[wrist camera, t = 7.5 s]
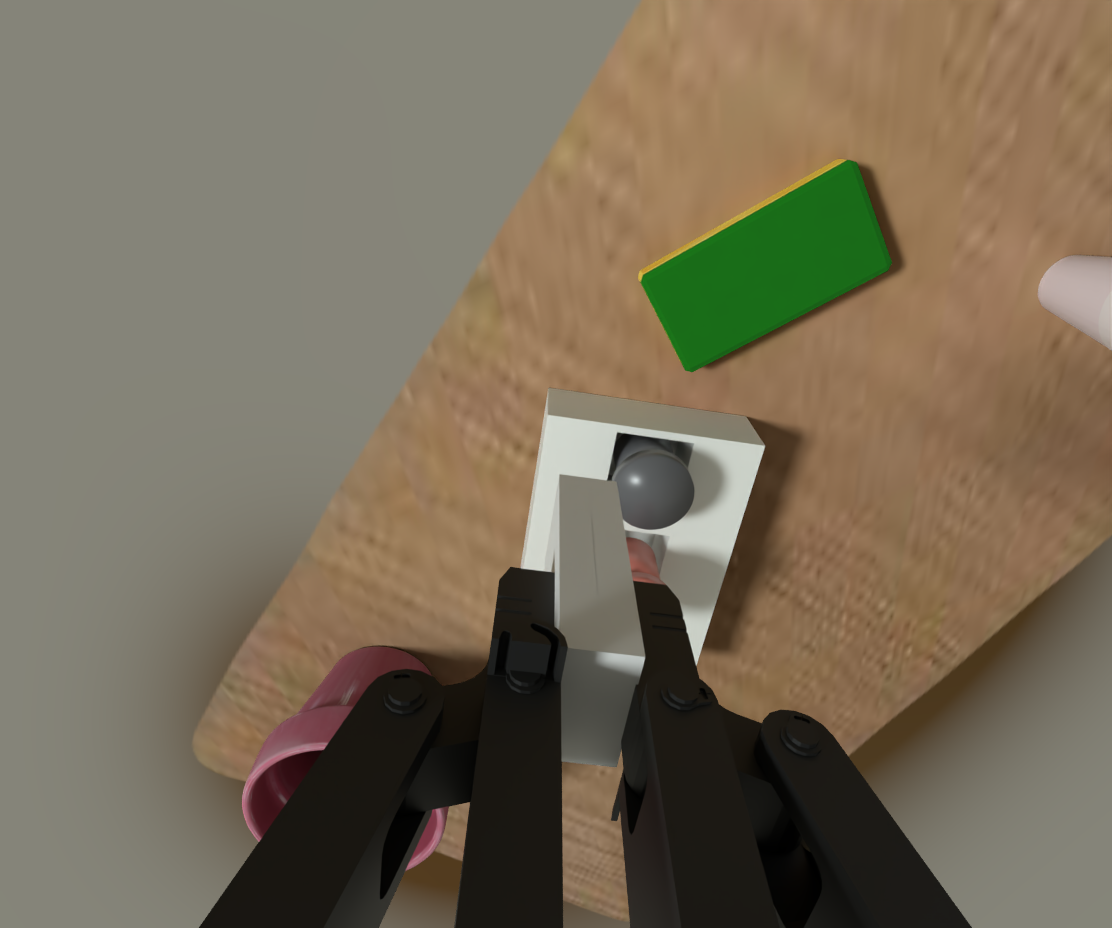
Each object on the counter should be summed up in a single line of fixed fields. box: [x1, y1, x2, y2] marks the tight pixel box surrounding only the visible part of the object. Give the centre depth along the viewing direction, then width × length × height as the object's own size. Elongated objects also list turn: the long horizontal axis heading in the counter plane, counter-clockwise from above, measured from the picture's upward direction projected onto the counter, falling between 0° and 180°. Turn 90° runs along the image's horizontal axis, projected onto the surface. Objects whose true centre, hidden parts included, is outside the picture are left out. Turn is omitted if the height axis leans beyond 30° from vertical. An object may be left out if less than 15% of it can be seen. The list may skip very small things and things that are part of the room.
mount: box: [521, 388, 765, 665], centre depth 50 cm, size 14×20×5 cm
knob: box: [612, 433, 695, 530], centre depth 45 cm, size 5×5×6 cm
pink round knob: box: [626, 537, 666, 585], centre depth 45 cm, size 5×5×6 cm
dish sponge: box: [638, 159, 892, 372], centre depth 43 cm, size 7×14×2 cm, turn 120°
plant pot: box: [242, 646, 449, 871], centre depth 54 cm, size 14×14×13 cm
